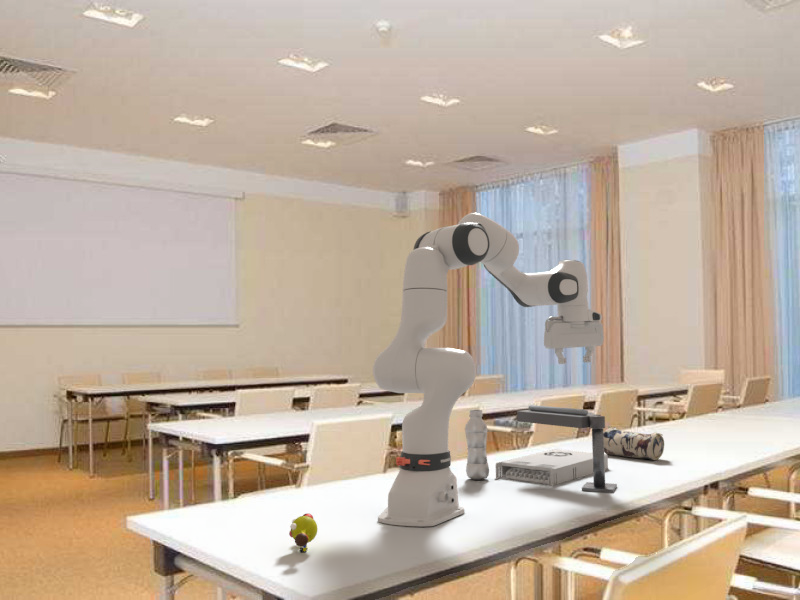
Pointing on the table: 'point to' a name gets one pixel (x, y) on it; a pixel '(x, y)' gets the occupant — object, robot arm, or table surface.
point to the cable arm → (561, 417)
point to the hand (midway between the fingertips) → (574, 363)
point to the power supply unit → (548, 467)
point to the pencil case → (633, 444)
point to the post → (598, 465)
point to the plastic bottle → (476, 446)
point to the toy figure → (303, 531)
